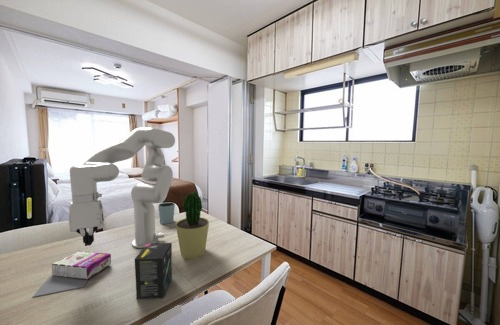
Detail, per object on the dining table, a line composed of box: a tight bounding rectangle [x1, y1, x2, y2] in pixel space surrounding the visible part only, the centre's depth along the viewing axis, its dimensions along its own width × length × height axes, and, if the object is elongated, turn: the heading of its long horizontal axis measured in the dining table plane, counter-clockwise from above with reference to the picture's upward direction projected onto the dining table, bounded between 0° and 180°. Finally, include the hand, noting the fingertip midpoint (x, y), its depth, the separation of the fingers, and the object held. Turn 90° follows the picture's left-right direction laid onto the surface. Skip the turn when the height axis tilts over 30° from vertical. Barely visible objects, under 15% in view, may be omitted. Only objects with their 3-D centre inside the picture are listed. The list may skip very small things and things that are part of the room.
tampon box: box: [134, 242, 173, 300], centre depth 75 cm, size 11×9×15 cm
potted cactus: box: [175, 191, 210, 259], centre depth 100 cm, size 15×15×30 cm
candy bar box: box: [51, 250, 112, 280], centre depth 85 cm, size 11×5×16 cm
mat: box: [32, 274, 89, 298], centre depth 78 cm, size 14×12×1 cm
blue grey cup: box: [157, 201, 176, 225], centre depth 139 cm, size 10×10×12 cm
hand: (88, 244), depth 80 cm, fingers closed
